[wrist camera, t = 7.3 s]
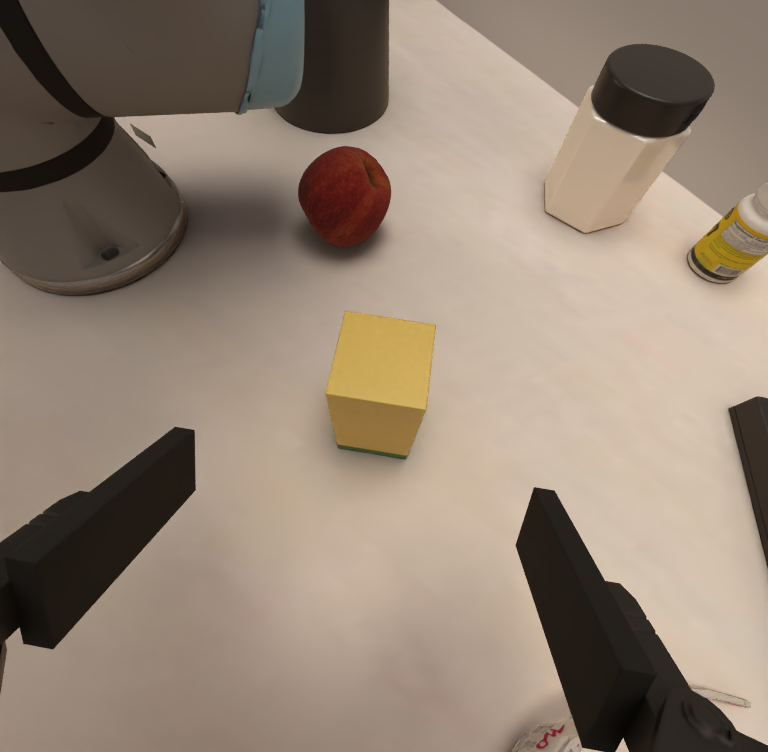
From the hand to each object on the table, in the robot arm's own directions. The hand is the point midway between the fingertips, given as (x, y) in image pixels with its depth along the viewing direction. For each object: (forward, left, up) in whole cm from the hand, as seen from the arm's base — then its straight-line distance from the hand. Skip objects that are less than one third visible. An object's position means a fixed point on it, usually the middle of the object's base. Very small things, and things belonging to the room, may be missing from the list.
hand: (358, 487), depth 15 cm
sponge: (0, +7, -12) cm, 14 cm away
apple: (-6, +25, -12) cm, 29 cm away
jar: (+17, +34, -12) cm, 40 cm away
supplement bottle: (+29, +28, -12) cm, 42 cm away
